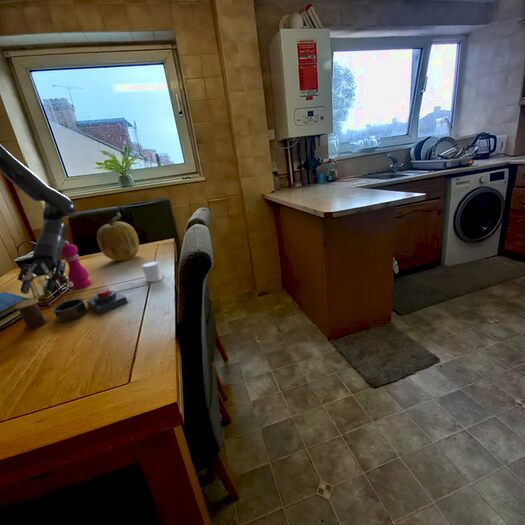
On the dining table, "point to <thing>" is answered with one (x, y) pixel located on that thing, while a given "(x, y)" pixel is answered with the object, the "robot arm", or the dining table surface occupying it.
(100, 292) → the brew button
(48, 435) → the dining table surface
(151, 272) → the white short cylinder
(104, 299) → the panel
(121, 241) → the pumpkin
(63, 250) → the pepper mill
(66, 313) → the pod holder
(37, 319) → the coffee pod
